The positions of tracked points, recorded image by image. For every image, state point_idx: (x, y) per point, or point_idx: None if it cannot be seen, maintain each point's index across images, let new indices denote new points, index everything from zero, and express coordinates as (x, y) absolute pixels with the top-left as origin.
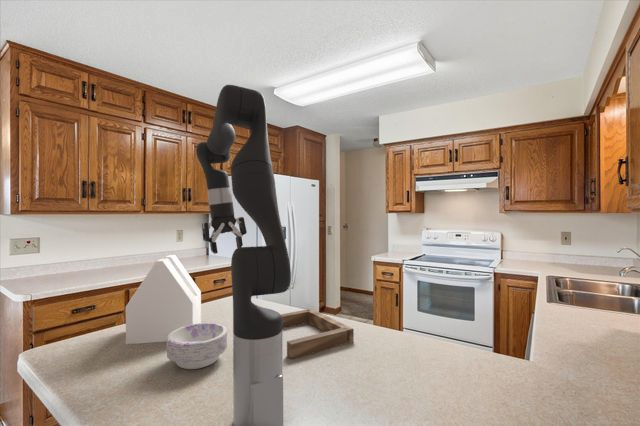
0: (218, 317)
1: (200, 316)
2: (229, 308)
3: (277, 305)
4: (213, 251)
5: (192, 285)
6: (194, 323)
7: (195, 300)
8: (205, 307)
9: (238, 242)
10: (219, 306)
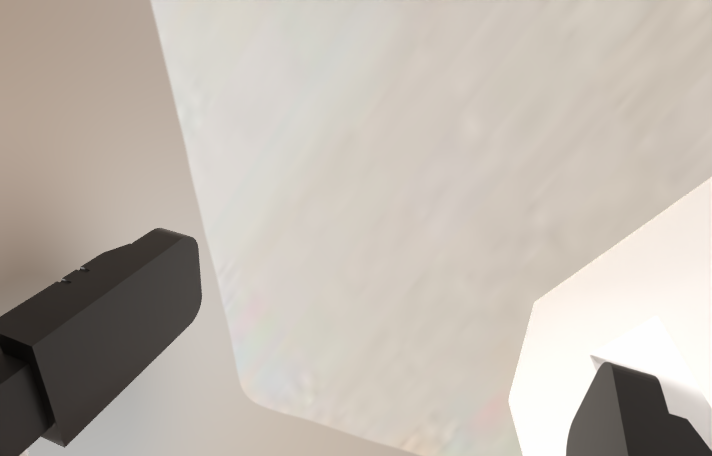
0: (439, 290)
1: (539, 313)
2: (345, 330)
3: (205, 196)
4: (686, 432)
5: None
6: (691, 220)
7: (672, 300)
8: (397, 416)
9: (125, 306)
10: (356, 378)
